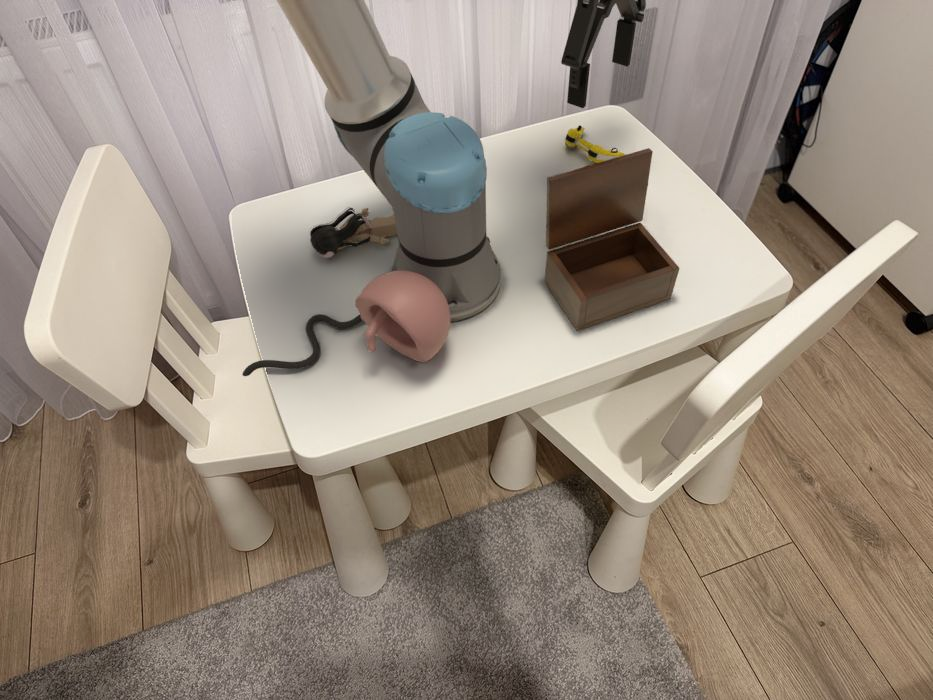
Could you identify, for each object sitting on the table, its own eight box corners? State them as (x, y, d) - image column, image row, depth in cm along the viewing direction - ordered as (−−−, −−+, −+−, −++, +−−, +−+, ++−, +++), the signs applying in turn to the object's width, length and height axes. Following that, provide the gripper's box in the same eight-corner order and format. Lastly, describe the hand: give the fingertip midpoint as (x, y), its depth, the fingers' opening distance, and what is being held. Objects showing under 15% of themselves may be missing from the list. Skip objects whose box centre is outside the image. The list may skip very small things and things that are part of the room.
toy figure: (393, 208, 107) (305, 242, 102) (392, 178, 101) (299, 211, 96) (415, 238, 103) (325, 274, 98) (416, 208, 98) (320, 244, 93)
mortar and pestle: (479, 347, 82) (402, 400, 83) (451, 305, 92) (382, 353, 92) (429, 275, 75) (345, 333, 76) (405, 238, 85) (330, 289, 86)
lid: (653, 151, 85) (649, 147, 85) (550, 181, 82) (546, 177, 83) (642, 220, 93) (639, 217, 93) (548, 250, 90) (545, 246, 90)
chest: (670, 298, 92) (679, 268, 88) (577, 331, 89) (581, 301, 85) (633, 253, 98) (640, 221, 93) (544, 282, 95) (546, 251, 90)
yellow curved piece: (553, 144, 113) (560, 124, 111) (577, 142, 117) (585, 123, 115) (595, 172, 108) (603, 152, 106) (619, 169, 112) (627, 150, 110)
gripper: (595, -28, 79) (578, 131, 95) (687, -99, 91) (659, 53, 107) (540, -42, 82) (533, 115, 98) (637, -109, 94) (617, 41, 110)
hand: (599, 83), depth 103 cm, fingers open, 13 cm apart
